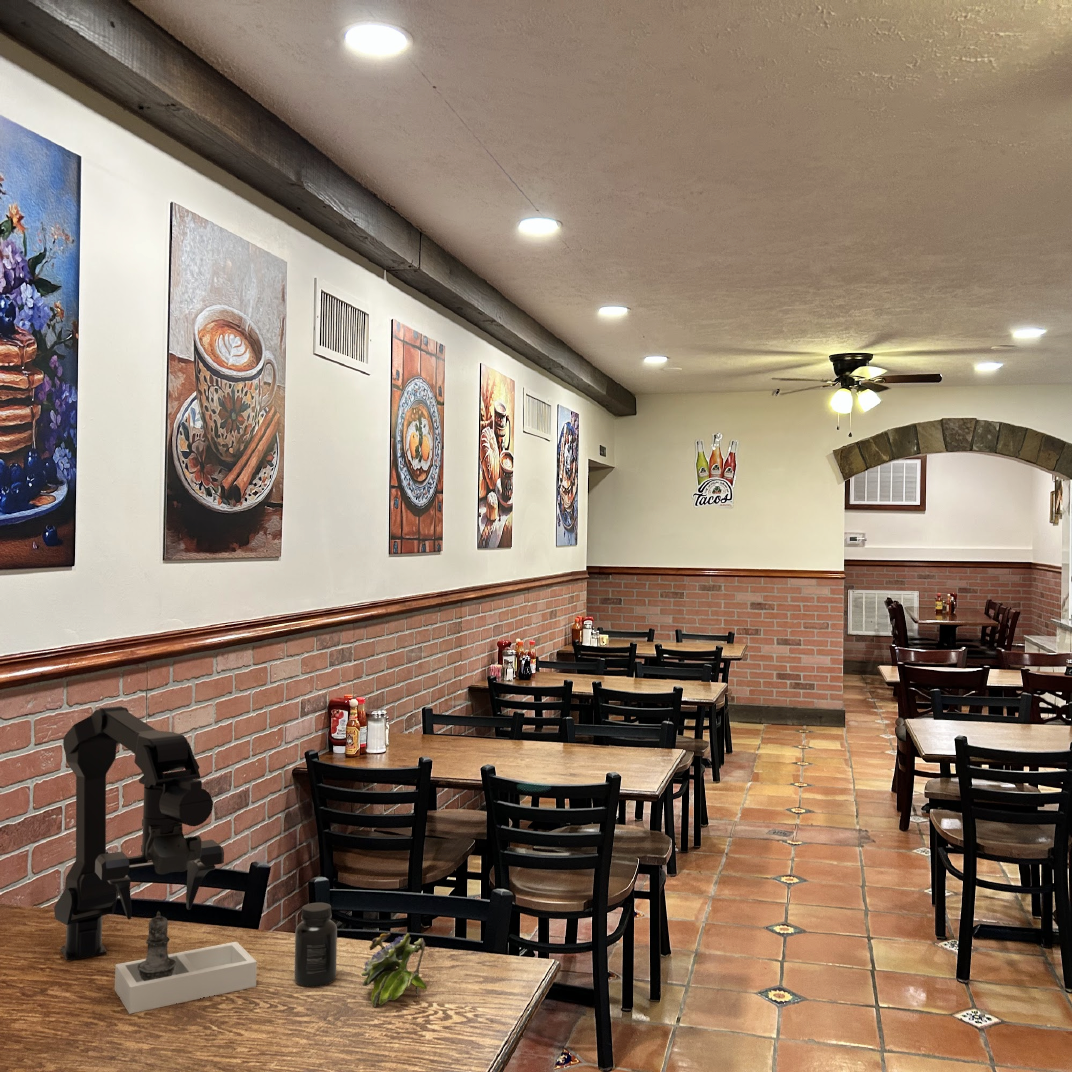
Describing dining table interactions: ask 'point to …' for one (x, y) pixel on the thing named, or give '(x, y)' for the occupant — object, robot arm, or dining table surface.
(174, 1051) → the dining table surface
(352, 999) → the dining table surface
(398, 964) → the passion flower
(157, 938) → the grey stone turned post
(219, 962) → the condiment caddy
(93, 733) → the robot arm
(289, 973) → the dining table surface
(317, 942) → the supplement bottle
